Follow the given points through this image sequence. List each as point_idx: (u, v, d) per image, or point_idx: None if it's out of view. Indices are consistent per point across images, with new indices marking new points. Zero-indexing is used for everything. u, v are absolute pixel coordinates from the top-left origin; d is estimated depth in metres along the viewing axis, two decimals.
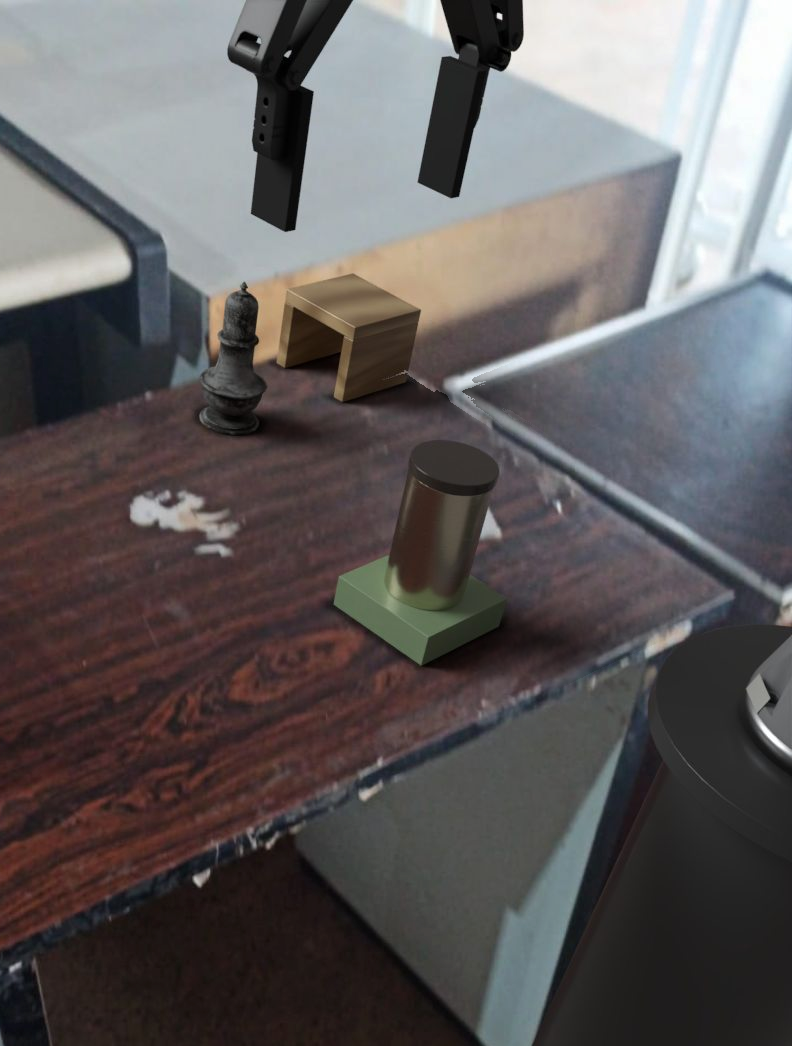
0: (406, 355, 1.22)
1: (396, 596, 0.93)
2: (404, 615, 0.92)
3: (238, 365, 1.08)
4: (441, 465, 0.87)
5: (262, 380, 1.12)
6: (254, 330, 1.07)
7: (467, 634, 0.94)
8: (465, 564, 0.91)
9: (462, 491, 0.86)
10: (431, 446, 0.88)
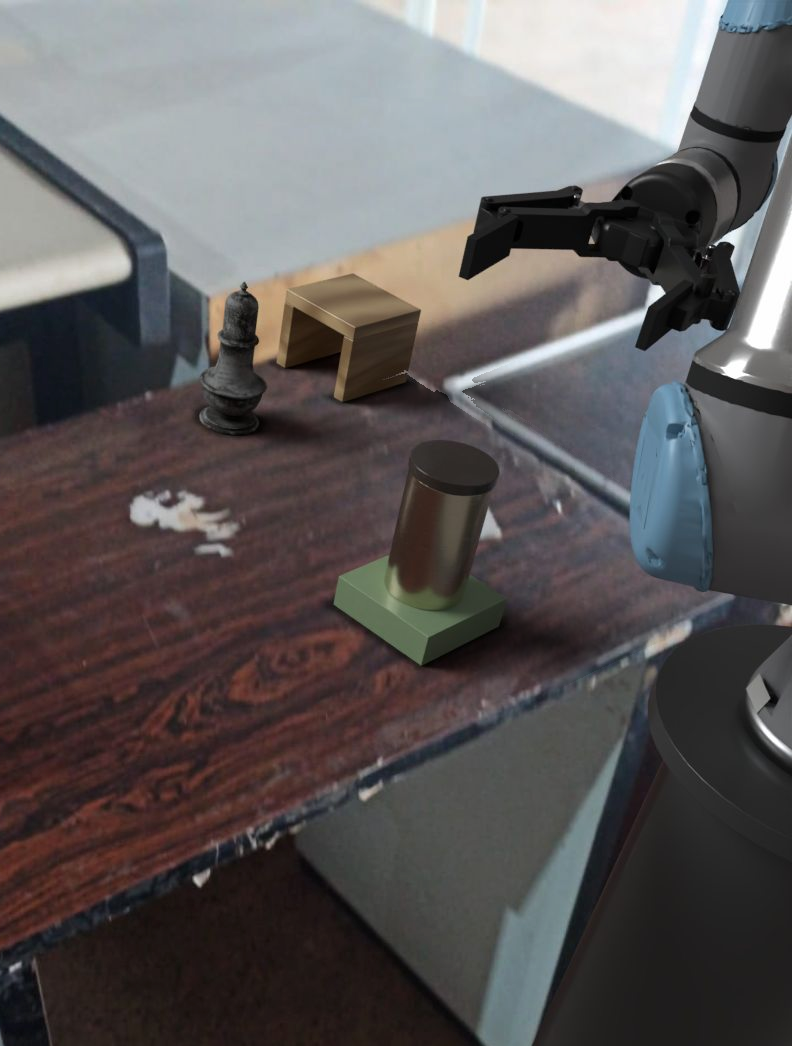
0: (406, 355, 1.22)
1: (396, 596, 0.93)
2: (404, 615, 0.92)
3: (238, 365, 1.08)
4: (441, 465, 0.87)
5: (262, 380, 1.12)
6: (254, 330, 1.07)
7: (467, 634, 0.94)
8: (465, 564, 0.91)
9: (462, 491, 0.86)
10: (431, 446, 0.88)
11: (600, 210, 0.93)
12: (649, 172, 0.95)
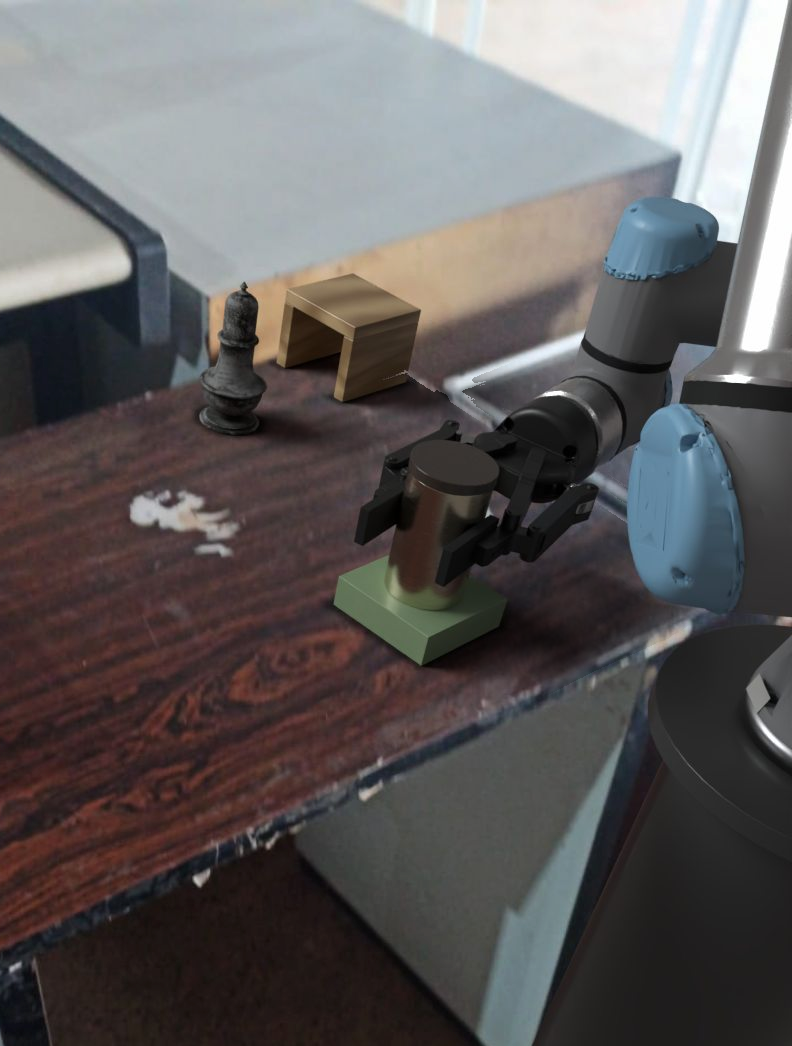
0: (406, 355, 1.22)
1: (396, 596, 0.93)
2: (404, 615, 0.92)
3: (238, 365, 1.08)
4: (441, 465, 0.87)
5: (262, 380, 1.12)
6: (254, 330, 1.07)
7: (467, 634, 0.94)
8: None
9: (462, 492, 0.86)
10: (431, 446, 0.88)
11: (477, 445, 0.96)
12: (529, 407, 0.98)
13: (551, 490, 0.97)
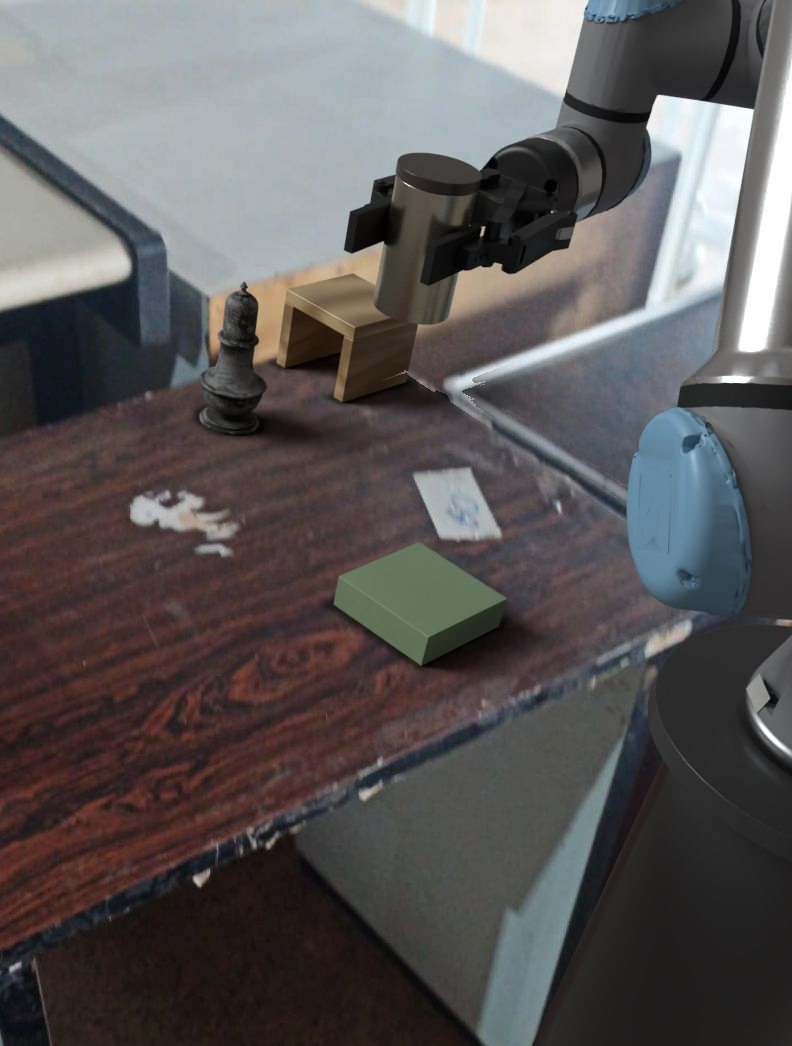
0: (406, 355, 1.22)
1: (384, 311, 0.97)
2: (404, 615, 0.92)
3: (238, 365, 1.08)
4: (426, 169, 0.91)
5: (262, 380, 1.12)
6: (254, 330, 1.07)
7: (467, 634, 0.94)
8: None
9: (446, 190, 0.90)
10: (417, 156, 0.93)
11: None
12: (512, 144, 1.02)
13: (533, 222, 1.02)
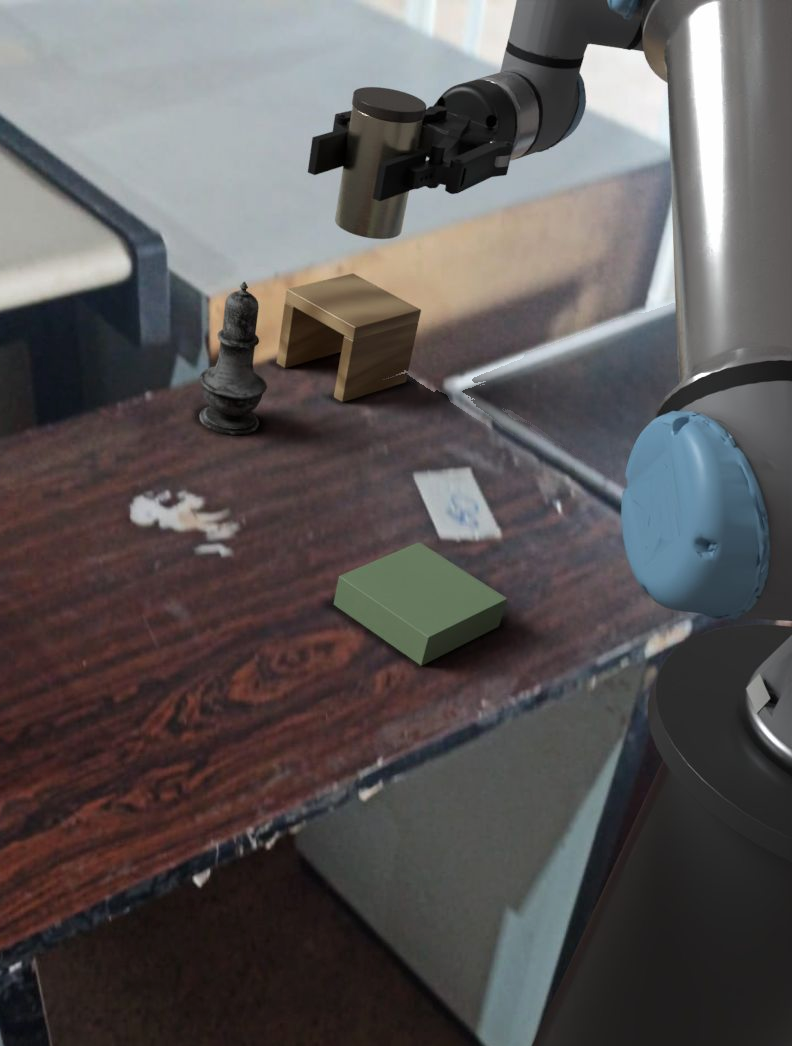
0: (406, 355, 1.22)
1: (344, 227, 1.12)
2: (404, 615, 0.92)
3: (238, 365, 1.08)
4: (378, 99, 1.06)
5: (262, 380, 1.12)
6: (254, 330, 1.07)
7: (467, 634, 0.94)
8: (400, 194, 1.10)
9: (394, 117, 1.05)
10: (371, 90, 1.08)
11: None
12: (457, 85, 1.17)
13: None
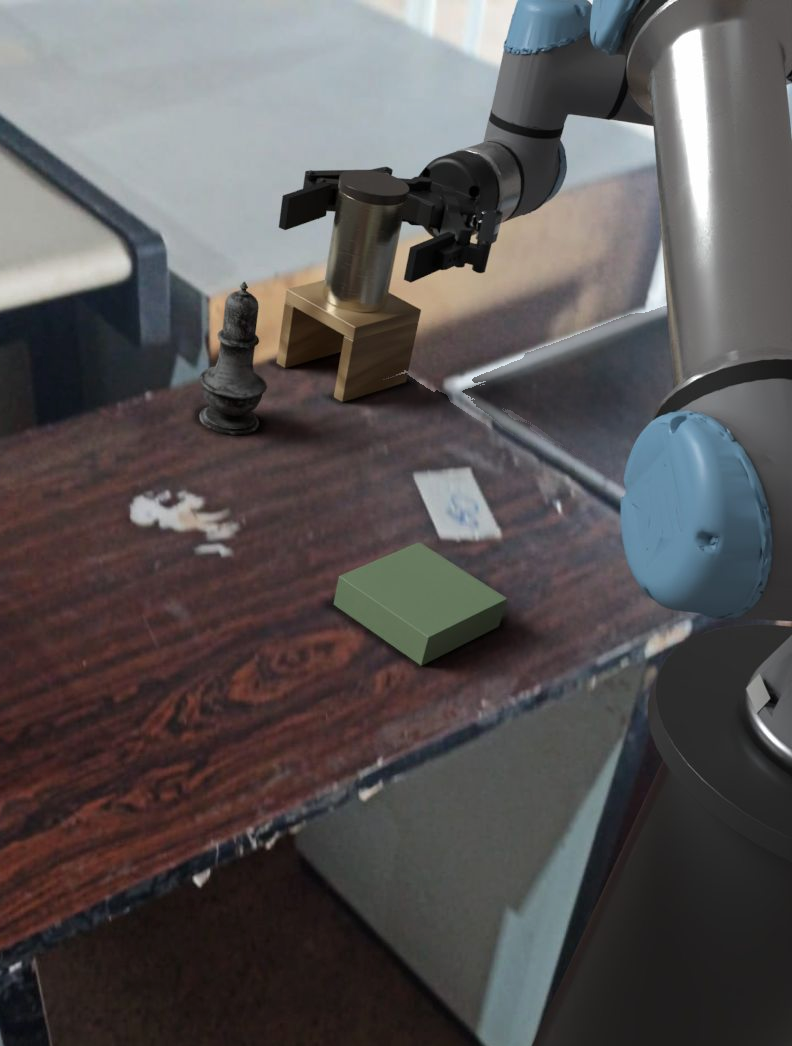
0: (406, 355, 1.22)
1: (331, 301, 1.17)
2: (404, 615, 0.92)
3: (238, 365, 1.08)
4: (363, 183, 1.11)
5: (262, 380, 1.12)
6: (254, 330, 1.07)
7: (467, 634, 0.94)
8: (384, 270, 1.15)
9: (378, 201, 1.10)
10: (356, 172, 1.13)
11: None
12: (442, 156, 1.21)
13: None
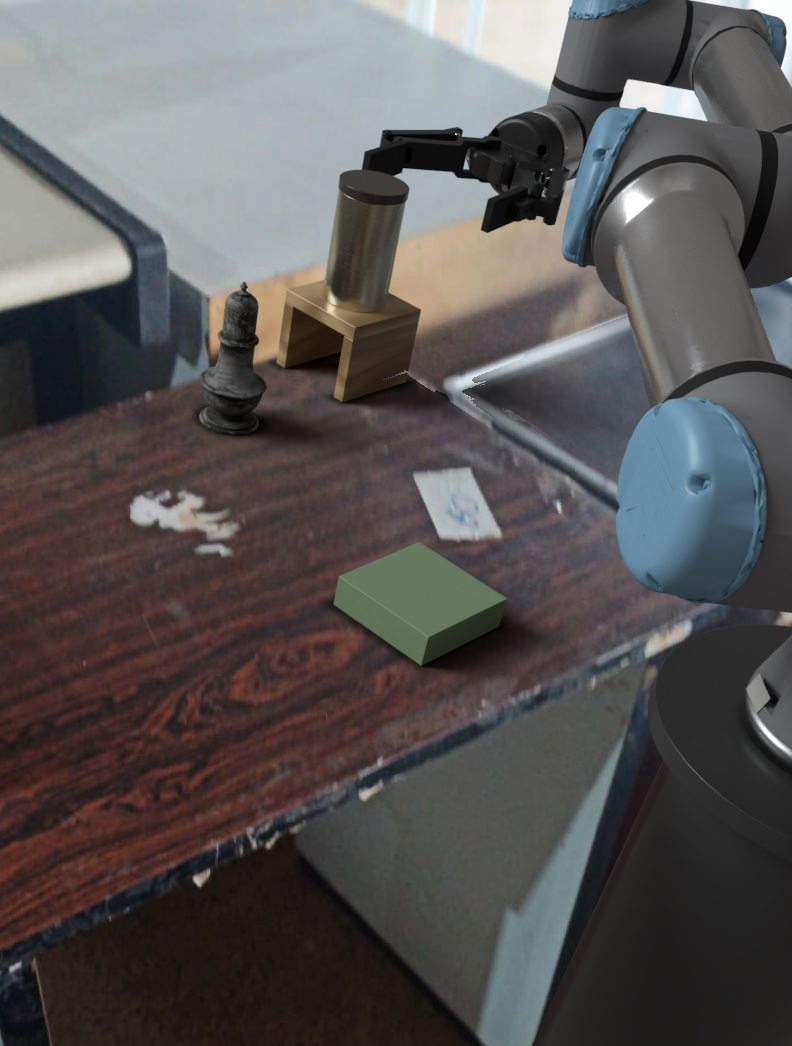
0: (406, 355, 1.22)
1: (331, 301, 1.17)
2: (404, 615, 0.92)
3: (238, 365, 1.08)
4: (363, 183, 1.11)
5: (262, 380, 1.12)
6: (254, 330, 1.07)
7: (467, 634, 0.94)
8: (384, 270, 1.15)
9: (378, 201, 1.10)
10: (356, 172, 1.13)
11: (470, 142, 1.26)
12: (510, 117, 1.28)
13: None
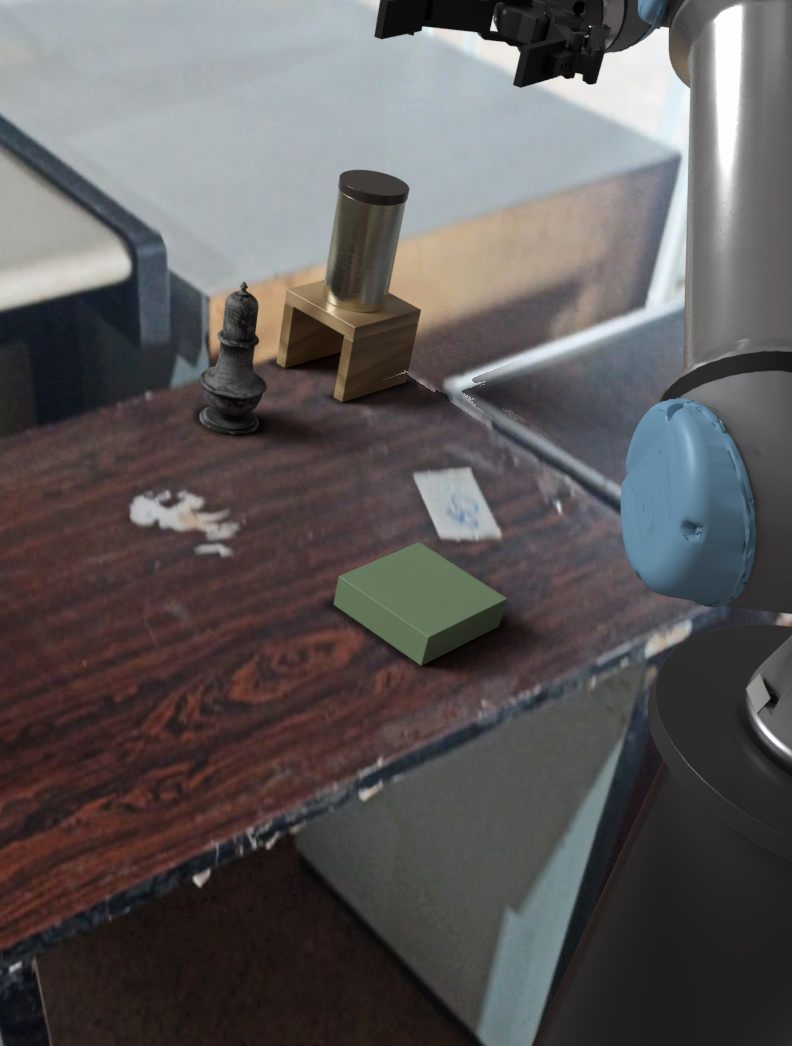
0: (406, 355, 1.22)
1: (331, 301, 1.17)
2: (404, 615, 0.92)
3: (238, 365, 1.08)
4: (363, 183, 1.11)
5: (262, 380, 1.12)
6: (254, 330, 1.07)
7: (467, 634, 0.94)
8: (384, 270, 1.15)
9: (378, 201, 1.10)
10: (356, 172, 1.13)
11: None
12: None
13: None
